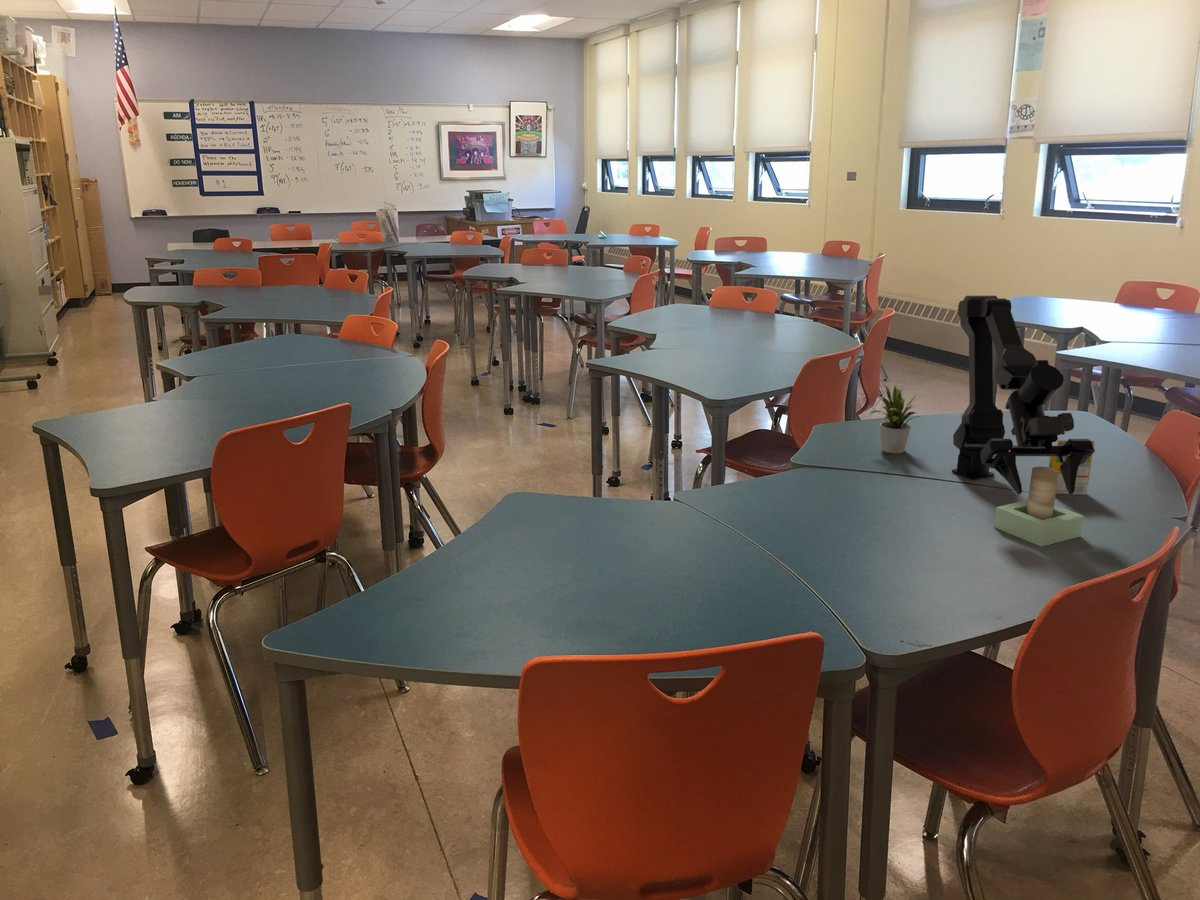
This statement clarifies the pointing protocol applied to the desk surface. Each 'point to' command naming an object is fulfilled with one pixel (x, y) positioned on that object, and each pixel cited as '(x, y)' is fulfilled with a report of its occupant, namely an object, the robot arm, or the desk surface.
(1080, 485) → the crayon box
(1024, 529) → the pale green square holder
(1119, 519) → the desk surface
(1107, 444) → the desk surface
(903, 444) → the house plant
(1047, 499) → the beige ridged cylinder
